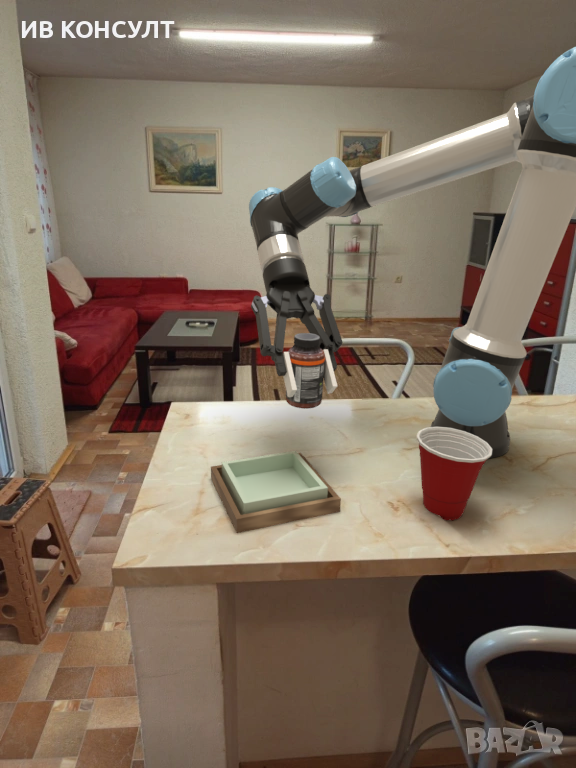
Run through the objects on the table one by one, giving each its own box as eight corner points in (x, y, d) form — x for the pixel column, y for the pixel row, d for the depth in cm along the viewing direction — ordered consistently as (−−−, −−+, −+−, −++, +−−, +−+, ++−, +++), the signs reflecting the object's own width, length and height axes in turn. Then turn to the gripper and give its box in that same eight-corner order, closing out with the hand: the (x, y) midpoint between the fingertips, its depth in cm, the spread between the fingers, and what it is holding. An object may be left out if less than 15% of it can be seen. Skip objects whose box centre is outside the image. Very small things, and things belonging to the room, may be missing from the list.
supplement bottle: (284, 395, 86) (287, 330, 82) (319, 396, 87) (324, 331, 83) (286, 409, 81) (289, 340, 77) (323, 410, 81) (328, 341, 77)
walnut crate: (299, 467, 91) (300, 452, 90) (339, 516, 77) (340, 498, 76) (211, 482, 86) (210, 466, 85) (236, 537, 72) (236, 519, 71)
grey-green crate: (295, 468, 89) (295, 450, 88) (326, 508, 78) (327, 487, 76) (222, 481, 85) (221, 462, 83) (244, 524, 73) (244, 503, 72)
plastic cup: (486, 536, 73) (500, 460, 69) (409, 525, 75) (417, 451, 71) (476, 496, 83) (487, 428, 79) (408, 488, 85) (415, 421, 81)
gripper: (327, 281, 94) (358, 396, 85) (226, 282, 88) (248, 406, 80) (341, 255, 88) (377, 376, 79) (232, 255, 82) (258, 386, 73)
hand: (312, 391), depth 79 cm, fingers closed on supplement bottle, 6 cm apart
